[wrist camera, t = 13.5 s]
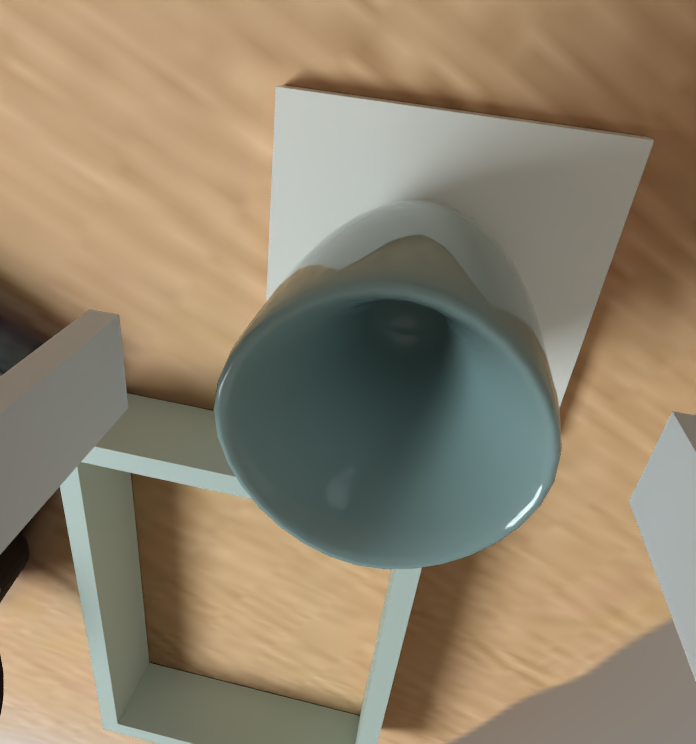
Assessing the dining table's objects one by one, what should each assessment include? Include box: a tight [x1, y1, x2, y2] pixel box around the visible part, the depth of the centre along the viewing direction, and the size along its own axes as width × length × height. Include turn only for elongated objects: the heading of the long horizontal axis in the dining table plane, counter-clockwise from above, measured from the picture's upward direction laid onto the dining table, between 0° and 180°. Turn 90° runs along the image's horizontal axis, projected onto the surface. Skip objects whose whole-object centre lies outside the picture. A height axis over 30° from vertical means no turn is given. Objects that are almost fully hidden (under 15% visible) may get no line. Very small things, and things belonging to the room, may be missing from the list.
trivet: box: [266, 85, 654, 408], centre depth 22 cm, size 12×12×1 cm
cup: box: [214, 200, 562, 569], centre depth 17 cm, size 8×8×10 cm
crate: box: [60, 393, 422, 744], centre depth 31 cm, size 16×22×4 cm
